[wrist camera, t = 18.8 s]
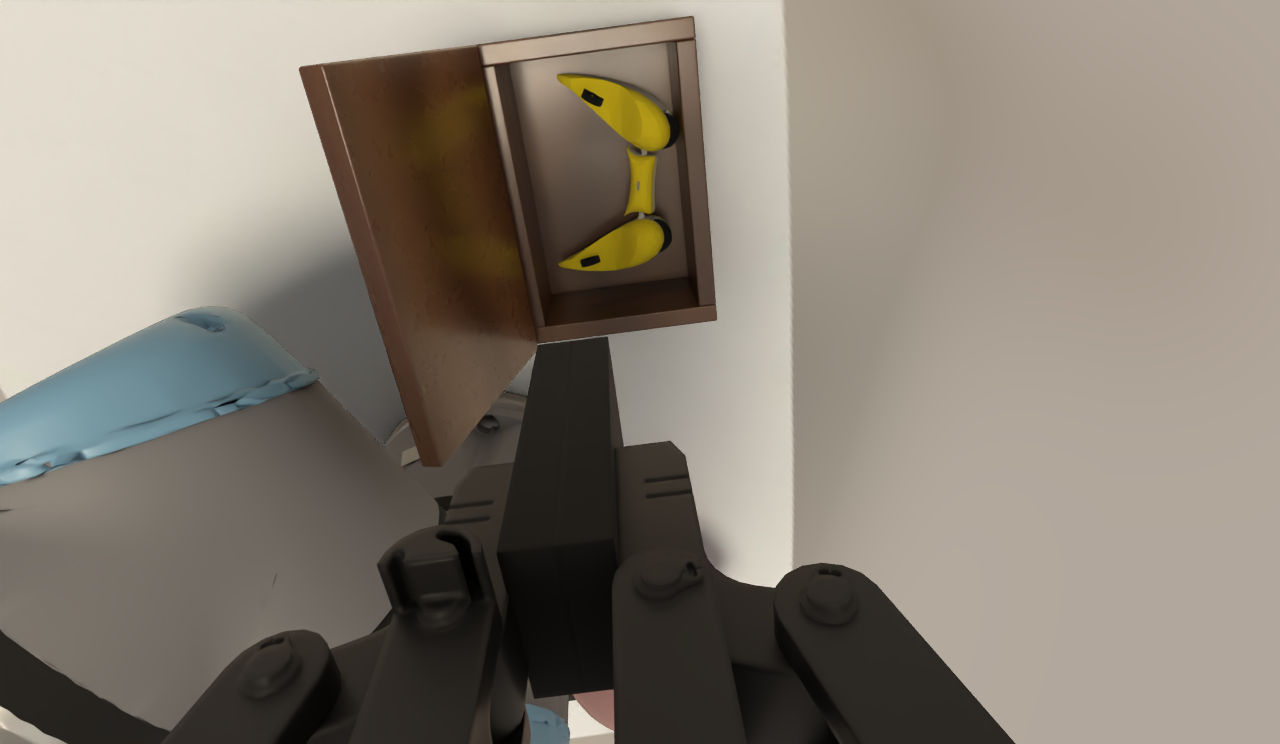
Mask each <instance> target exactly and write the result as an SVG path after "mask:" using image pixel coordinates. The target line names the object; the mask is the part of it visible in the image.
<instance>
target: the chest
mask: <svg viewBox="0 0 1280 744" xmlns="http://www.w3.org/2000/svg"><path fill="white" fill-rule="evenodd" d="M694 38H695V23H694V17H693V16H687V17H680V18H672V19H665V20H657V21H650V22H642V23H635V24H627V25H620V26H612V27H605V28H598V29H590V30H583V31H575V32H568V33H560V34H553V35H545V36H538V37H531V38H523V39H516V40H508V41H501V42H493V43H486V44H478V45H476V46H477V51H478V55H479V60H480V65H481V70H482V75H483V80H484V85H485V90H486V95H487V100H488V105H489V109H490V114H491V119H492V124H493V129H494V134H495V139H496V144H497V149H498V154H499V158H500V163H501V168H502V173H503V178H504V183H505V188H506V193H507V198H508V203H509V208H510V212H511V217H512V222H513V227H514V232H515V237H516V242H517V247H518V252H519V257H520V262H521V266H522V271H523V276H524V281H525V286H526V291H527V296H528V301H529V306H530V311H531V316H532V320H533V325H534V330H535V335H536V340H537V344H539V343H546V342H554V341H562V340H569V339H577V338H585V337H592V336H600V335H608V334H616V333H623V332H631V331H639V330H646V329H654V328H662V327H669V326H677V325H685V324H693V323H700V322H708V321H716V320H717V312H716V304H715V303H716V300H715V287H714V273H713V260H712V247H711V234H710V221H709V208H708V194H707V181H706V168H705V155H704V142H703V129H702V116H701V102H700V89H699V76H698V63H697V50H696V40H695V39H694ZM570 73H576V74H588V75H595V76H600V77H605V78H610V79H614V80H617V81H620V82H624V83H627V84H630V85H632V86H634V87H637V88H639V89H641V90H643V91H646V92H647V93H649V94H651V95H652V96H654V97H655V98H657V99H658V100H660V101H661V102H662V103H663V104H664V105H665V106H666V107H667V108H668V109H669V111H670V112H671V114H672V116H673V117H674V118H675V119H676V121H677V123H678V126H679V135H678V138H677V140H676V142H675V143H674V144H673V145H672V146H671V147H669V148H666V149H661V150H658V151H653V152H652V151H647V155H650V154H655V155H657V158H658V162H657V170H656V178H655V211H654V212H653V213H651V214H647V213H644V216H647V215H655V216H659V217H661V218H662V219H664V220H665V221H666V222H667V224H668V226H669V228H670V229H671V232H672V241H671V244H670V246H669V247H668V248H667V249H665V250H664V251H662V252H660V253H658V254H657V255H656V256H654V257H653V258H652V259H650V260H649V261H647V262H645V263H643V264H640V265H637V266H634V267H630V268H625V269H620V270H612V271H585V270H574V269H568V268H562V267H560V266H559V265H558V263H559V262H561V261H563V260H565V259H566V258H568V257H569V256H571V255H573V254H575V253H577V252H579V251H581V250H583V249H585V248H586V247H588V246H590V245H591V244H593V243H594V242H596V241H598V240H599V239H601V238H602V237H604V236H606V235H607V234H609V233H610V232H612V231H614V230H615V229H617V228H618V227H620V226H622V225H624V224H626V223H628V222H629V221H631V220H633V219H636V218H637V217H638V216H639V212H632V213H629V214H627V215H625V216H624V214H625V212H626V208H627V205H628V201H629V194H630V184H631V170H630V163H629V158H628V154H627V149H626V148H627V147H629V146H630V147H632V148H633V149H634V150H635V151H637V152H639V153H641V154H642V152H641V149H640V148H638V147H636V146H634V145H633V144H631V143H630V142H629V141H627V140H626V139H624V138H623V137H622V136H621V135H619V134H618V133H617V132H616V131H615V130H614V129H613V128H612V127H611V126H609V125H608V124H607V123H606V122H605V121H604V120H603V119H602V118H601V117H600V116H599V115H598V114H597V113H596V112H595V111H593V110H592V109H591V108H590V107H589V106H588V105H587V104H586V103H585V102H584V101H583V100H581V99H580V98H579V97H578V96H577V95H576V94H575V93H574V92H573V91H572V90H570V89H569V88H568V87H566V86H564V85H563V84H561V83H560V82H559V81H558V79H557V75H558V74H570Z"/></svg>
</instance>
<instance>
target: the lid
mask: <svg viewBox="0 0 1280 744" xmlns="http://www.w3.org/2000/svg"><path fill="white" fill-rule="evenodd" d="M299 72H300V75H301V79H302V82H303V85H304V88H305V91H306V95H307V98H308V101H309V104H310V108H311V111H312V114H313V117H314V120H315V124H316V127H317V130H318V133H319V136H320V140H321V143H322V146H323V149H324V152H325V156H326V159H327V162H328V165H329V168H330V172H331V175H332V178H333V181H334V185H335V188H336V191H337V194H338V197H339V201H340V204H341V207H342V210H343V213H344V217H345V220H346V223H347V226H348V229H349V233H350V236H351V239H352V242H353V245H354V249H355V252H356V255H357V258H358V262H359V265H360V268H361V271H362V274H363V278H364V281H365V284H366V287H367V290H368V294H369V297H370V300H371V303H372V306H373V310H374V313H375V316H376V319H377V323H378V326H379V329H380V332H381V335H382V339H383V342H384V345H385V348H386V351H387V355H388V358H389V361H390V364H391V367H392V371H393V374H394V377H395V380H396V383H397V387H398V390H399V393H400V396H401V400H402V403H403V406H404V409H405V412H406V416H407V419H408V422H409V425H410V428H411V432H412V435H413V438H414V441H415V444H416V448H417V451H418V454H419V457H420V461H421V464H422V466H423V467H443V466H444V465H445V463H446V462H447V461H448V460H449V458H450V457H451V456H452V455H453V453H454V452H455V451H456V450H457V448H458V447H459V446H460V445H461V443H462V442H463V441H464V440H465V438H466V437H467V436H468V435H469V434H470V432H471V431H472V430H473V429H474V427H475V426H476V425H477V424H478V422H479V421H480V420H481V419H482V417H483V416H484V415H485V414H486V412H487V411H488V410H489V409H490V408H491V406H492V405H493V404H494V403H495V401H496V400H497V399H498V398H499V396H500V395H501V394H502V393H503V391H504V390H505V389H506V388H507V386H508V385H509V384H510V383H511V382H512V380H513V379H514V378H515V377H516V375H517V374H518V373H519V372H520V370H521V369H522V368H523V367H524V365H525V364H526V363H527V362H528V360H529V359H530V358H531V357H532V355H533V354H534V353H535V352H536V351H537V346H538V345H537V340H536V335H535V330H534V325H533V320H532V316H531V311H530V306H529V301H528V296H527V291H526V286H525V281H524V276H523V271H522V266H521V262H520V257H519V252H518V247H517V242H516V237H515V232H514V227H513V222H512V217H511V212H510V208H509V203H508V198H507V193H506V188H505V183H504V178H503V173H502V168H501V163H500V158H499V154H498V149H497V144H496V139H495V134H494V129H493V124H492V119H491V114H490V109H489V105H488V100H487V95H486V90H485V85H484V80H483V75H482V70H481V65H480V60H479V55H478V51H477V46H476V45H470V46H462V47H454V48H445V49H437V50H429V51H421V52H413V53H405V54H396V55H388V56H380V57H372V58H364V59H356V60H348V61H339V62H331V63H323V64H316V65H308V66H301V67H300V68H299Z"/></svg>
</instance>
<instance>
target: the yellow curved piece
mask: <svg viewBox="0 0 1280 744" xmlns="http://www.w3.org/2000/svg"><path fill="white" fill-rule="evenodd" d="M557 79H558V81H559V82H560V83H561V84H563V85H564V86H566V87H568V88H569V89H570V90H572V91H573V92H574V93H575V94H576V95H577V96H578V97H579V98H580V99H581V100H583V101H584V102H585V103H586V104H587V105H588V106H589V107H590V108H591V109H592V110H593V111H595V112H596V113H597V114H598V115H599V116H600V117H601V118H602V119H603V120H604V121H605V122H606V123H607V124H608V125H609V126H611V127H612V128H613V129H614V130H615V131H616V132H617V133H618V134H619V135H621V136H622V137H623V138H624V139H626V140H627V141H629V142H630V143H631V144H633V145H634V146H636V147H638V148H640V149H641V152H642V154H641V153H639V152H637V151H635V150H634V149H633V148H632V147H630V146H629V147H627V148H626V149H627V154H628V158H629V163H630V170H631V184H630V194H629V201H628V205H627V208H626V212H625V214H624V216H625V215H627V214H629V213H632V212H639V216H638V217H637V218H636V219H633V220H631V221H629V222H628V223H626V224H624V225H622V226H620V227H618V228H617V229H615V230H614V231H612V232H610V233H609V234H607V235H606V236H604V237H602V238H601V239H599V240H598V241H596V242H594V243H593V244H591V245H590V246H588V247H586V248H585V249H583V250H581V251H579V252H577V253H575V254H573V255H571V256H569V257H568V258H566V259H565V260H563V261H561V262H559V263H558V265H559V266H560V267H562V268H568V269H574V270H585V271H612V270H620V269H625V268H630V267H634V266H637V265H640V264H643V263H645V262H647V261H649V260H650V259H652V258H653V257H654V256H656V255H657V254H658V253H660V252H662V251H664V250H665V249H667V248H668V247H669V246H670V244H671V241H672V232H671V229H670V228H669V226H668V224H667V222H666V221H665V220H664V219H662V218H661V217H659V216H655V215H647V216H644V213H647V214H651V213H653V212H654V211H655V178H656V170H657V162H658V158H657V155H655V154H650V155H647V151H652V152H653V151H658V150H661V149H666V148H669V147H671V146H672V145H673V144H674V143H675V142H676V140H677V138H678V135H679V126H678V123H677V121H676V119H675V118H674V117H673V116H672V114H671V112H670V111H669V109H668V108H667V107H666V106H665V105H664V104H663V103H662V102H661V101H660V100H658V99H657V98H655V97H654V96H652V95H651V94H649V93H647V92H646V91H643V90H641V89H639V88H637V87H634V86H632V85H630V84H627V83H624V82H620V81H617V80H614V79H610V78H605V77H600V76H595V75H588V74H576V73H570V74H558V75H557Z"/></svg>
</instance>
